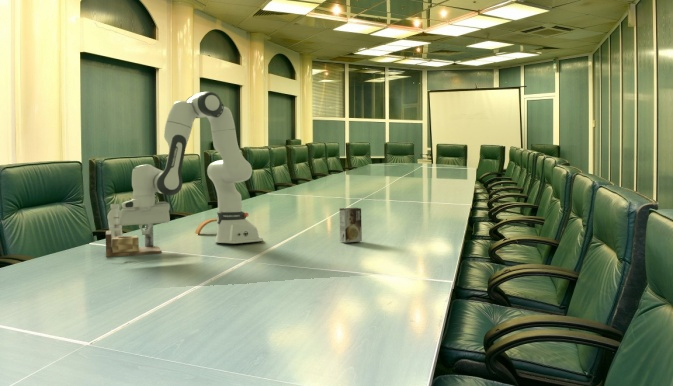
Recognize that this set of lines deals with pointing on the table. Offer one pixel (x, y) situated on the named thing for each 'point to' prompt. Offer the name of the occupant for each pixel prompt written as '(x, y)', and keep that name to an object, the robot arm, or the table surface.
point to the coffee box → (350, 225)
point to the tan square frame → (125, 244)
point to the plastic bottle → (114, 221)
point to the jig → (141, 251)
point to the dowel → (149, 237)
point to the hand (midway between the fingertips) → (145, 234)
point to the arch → (204, 225)
